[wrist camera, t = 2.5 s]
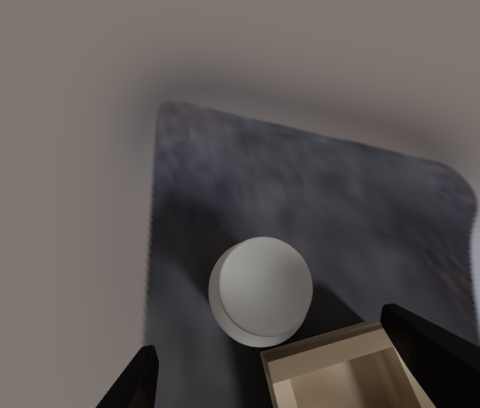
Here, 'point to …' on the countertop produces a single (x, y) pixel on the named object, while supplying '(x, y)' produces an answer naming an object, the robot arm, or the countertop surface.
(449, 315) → the countertop surface
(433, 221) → the countertop surface
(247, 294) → the pill bottle
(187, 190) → the countertop surface
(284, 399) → the birch socket stand
